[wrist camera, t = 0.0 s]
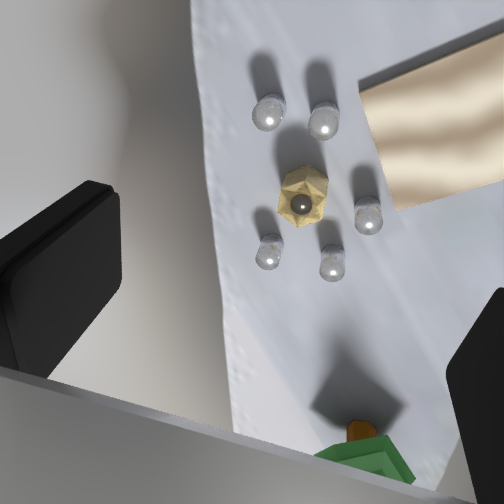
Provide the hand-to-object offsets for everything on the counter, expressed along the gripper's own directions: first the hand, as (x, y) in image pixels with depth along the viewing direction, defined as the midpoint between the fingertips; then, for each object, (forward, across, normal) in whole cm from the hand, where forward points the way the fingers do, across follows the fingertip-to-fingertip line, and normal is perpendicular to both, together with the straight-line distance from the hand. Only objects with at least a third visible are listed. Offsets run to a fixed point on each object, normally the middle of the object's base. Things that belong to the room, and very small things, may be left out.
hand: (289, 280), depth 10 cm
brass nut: (+37, 0, +13) cm, 40 cm away
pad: (+37, -13, +4) cm, 40 cm away
